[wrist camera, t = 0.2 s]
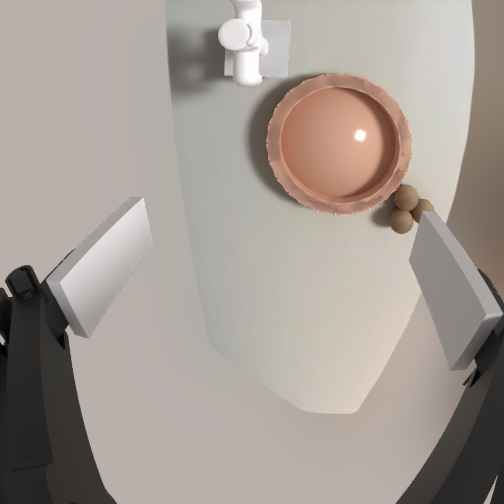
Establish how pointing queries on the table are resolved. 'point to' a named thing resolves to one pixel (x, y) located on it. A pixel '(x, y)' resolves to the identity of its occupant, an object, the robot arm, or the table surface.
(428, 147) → the table surface
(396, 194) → the wooden beads
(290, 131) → the dish
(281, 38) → the figurine
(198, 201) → the table surface
